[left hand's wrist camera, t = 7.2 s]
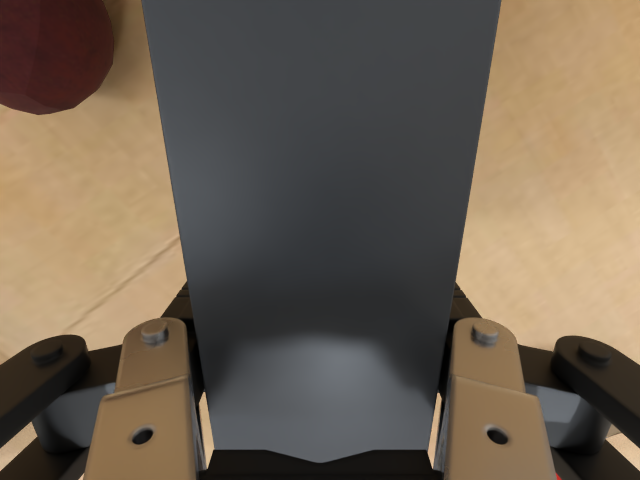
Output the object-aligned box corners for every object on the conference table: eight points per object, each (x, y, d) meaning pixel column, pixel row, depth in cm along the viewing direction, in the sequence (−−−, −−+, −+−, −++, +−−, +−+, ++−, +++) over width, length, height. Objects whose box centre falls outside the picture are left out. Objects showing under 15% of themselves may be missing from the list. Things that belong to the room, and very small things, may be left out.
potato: (152, -4, 19) (65, -58, 13) (123, 132, 22) (39, 146, 15) (11, -71, 18) (-165, -167, 12) (-2, 81, 21) (-150, 72, 14)
